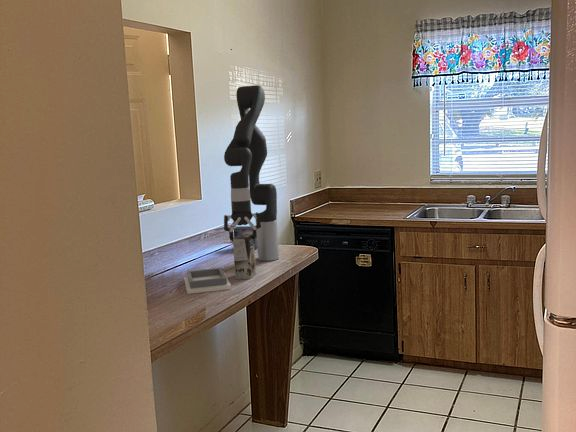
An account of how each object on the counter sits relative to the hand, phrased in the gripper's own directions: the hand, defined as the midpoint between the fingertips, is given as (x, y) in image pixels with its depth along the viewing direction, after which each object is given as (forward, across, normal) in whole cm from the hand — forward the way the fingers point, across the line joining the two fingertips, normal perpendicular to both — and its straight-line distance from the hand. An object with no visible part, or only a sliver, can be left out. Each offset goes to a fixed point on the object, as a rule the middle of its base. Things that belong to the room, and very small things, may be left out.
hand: (243, 240), depth 236 cm
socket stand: (+15, +16, +6) cm, 22 cm away
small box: (+14, -8, -51) cm, 53 cm away
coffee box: (+15, 0, 0) cm, 15 cm away
